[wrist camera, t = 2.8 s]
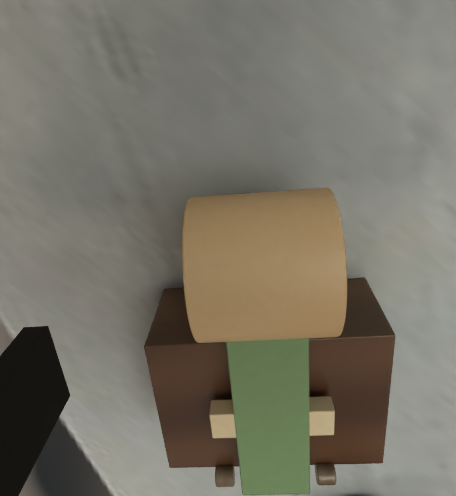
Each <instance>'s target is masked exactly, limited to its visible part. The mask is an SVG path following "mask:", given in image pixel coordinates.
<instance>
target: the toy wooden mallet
mask: <svg viewBox="0 0 456 496" xmlns="http://www.w3.org/2000/svg"><path fill="white" fill-rule="evenodd" d="M182 268H183V284H184V294H185V302H186V309H187V315H188V320H189V325H190V329H191V332H192V335H193V337H194V339H195V341H196V342H198V343H213V342H226V347H227V357H228V366H229V375H230V384H231V393H232V400H211V404H210V414H209V416H210V423H211V430H212V437H213V438H236V439H237V448H238V457H239V467H240V476H241V485H242V494H243V495H273V494H310V436H318V435H334V420H335V410H334V406H333V402H332V398H331V396H322V397H309V338H326V337H338V336H340V335H341V333H342V331H343V327H344V323H345V318H346V308H347V267H346V253H345V243H344V235H343V229H342V223H341V217H340V213H339V209H338V205H337V202H336V199H335V196H334V194H333V192H332V191H331V189H329V188H315V189H301V190H287V191H273V192H258V193H244V194H230V195H216V196H202V197H191V198H189V199H188V201H187V203H186V207H185V211H184V218H183V230H182Z"/></svg>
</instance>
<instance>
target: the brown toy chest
mask: <svg viewBox="0 0 456 496" xmlns="http://www.w3.org/2000/svg"><path fill="white" fill-rule="evenodd" d="M394 344H395V334H394V332H393V330H392V328H391V326H390V324H389V322H388V320H387V318H386V317H385V315H384V313H383V311H382V309H381V307H380V305H379V303H378V301H377V299H376V298H375V296H374V294H373V292H372V290H371V288H370V286H369V284H368V282H367V280H366V279H365V278H362V279H347V308H346V318H345V323H344V327H343V331H342V333H341V335H340V336H338V337H326V338H309V397H322V396H331V398H332V402H333V406H334V410H335V420H334V435H318V436H310V465H315V473H316V480H317V484H318V485H335V484H336V472H335V467H334V464H367V463H383V455H384V445H385V435H386V425H387V415H388V405H389V394H390V384H391V374H392V364H393V354H394ZM144 348H145V353H146V357H147V362H148V367H149V372H150V376H151V381H152V386H153V391H154V395H155V400H156V405H157V410H158V414H159V419H160V424H161V429H162V433H163V438H164V443H165V448H166V452H167V457H168V462H169V467H170V468H184V467H216V469H215V482H216V487H233V486H234V483H235V473H234V466H239V457H238V448H237V439H236V438H213V437H212V430H211V423H210V416H209V414H210V404H211V400H232V393H231V384H230V375H229V366H228V357H227V347H226V342H213V343H198V342H196V341H195V339H194V337H193V335H192V332H191V329H190V325H189V320H188V315H187V309H186V302H185V294H184V288H177V289H164V292H163V294H162V297H161V300H160V303H159V306H158V309H157V311H156V314H155V317H154V320H153V323H152V326H151V328H150V331H149V334H148V337H147V340H146V343H145V345H144Z"/></svg>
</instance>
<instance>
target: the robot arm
mask: <svg viewBox="0 0 456 496" xmlns="http://www.w3.org/2000/svg"><path fill="white" fill-rule="evenodd" d="M69 397H70V393H69V390H68V387H67V384H66V381H65V378H64V375H63V371H62V368H61V365H60V362H59V359H58V356H57V353H56V349H55V346H54V343H53V340H52V337H51V334H50V331H49V328H48V326H41V327H24V328H23V329H22V330H21V331H20V333H19V334H18V335H17V336H16V338H15V339H14V340H13V341H12V342H11V344H10V345H9V346H8V347H7V349H6V350H5V351H4V352H3V353H2V355H1V356H0V496H18V495H19V493H20V492H21V490H22V488H23V486H24V484H25V482H26V480H27V478H28V476H29V474H30V472H31V470H32V468H33V466H34V464H35V463H36V461H37V459H38V457H39V455H40V453H41V451H42V449H43V447H44V445H45V443H46V441H47V439H48V437H49V435H50V433H51V432H52V429H53V428H54V426H55V424H56V422H57V420H58V418H59V416H60V414H61V412H62V410H63V408H64V406H65V404H66V402H67V401H68V399H69Z"/></svg>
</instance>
